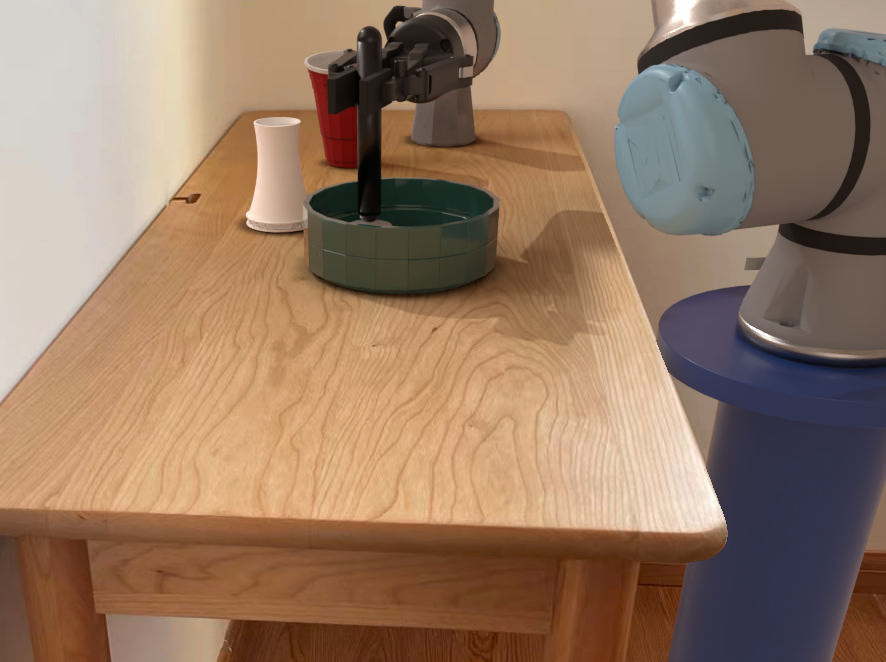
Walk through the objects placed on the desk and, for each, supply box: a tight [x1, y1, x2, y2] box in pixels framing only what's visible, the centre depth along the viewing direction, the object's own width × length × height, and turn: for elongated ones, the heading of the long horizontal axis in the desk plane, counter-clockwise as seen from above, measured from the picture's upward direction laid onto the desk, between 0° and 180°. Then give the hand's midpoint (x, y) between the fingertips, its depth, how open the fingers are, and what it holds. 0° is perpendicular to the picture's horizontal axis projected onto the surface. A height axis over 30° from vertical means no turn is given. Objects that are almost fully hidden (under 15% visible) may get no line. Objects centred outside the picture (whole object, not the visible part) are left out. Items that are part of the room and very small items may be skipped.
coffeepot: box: [382, 5, 477, 148], centre depth 149 cm, size 15×9×18 cm, turn 66°
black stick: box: [350, 25, 392, 226], centre depth 103 cm, size 4×4×19 cm
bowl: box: [302, 176, 501, 295], centre depth 107 cm, size 18×18×6 cm
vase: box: [245, 116, 308, 233], centre depth 118 cm, size 8×8×10 cm
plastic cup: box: [303, 49, 357, 169], centre depth 140 cm, size 11×11×12 cm
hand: (347, 97), depth 96 cm, fingers closed on black stick, 2 cm apart
